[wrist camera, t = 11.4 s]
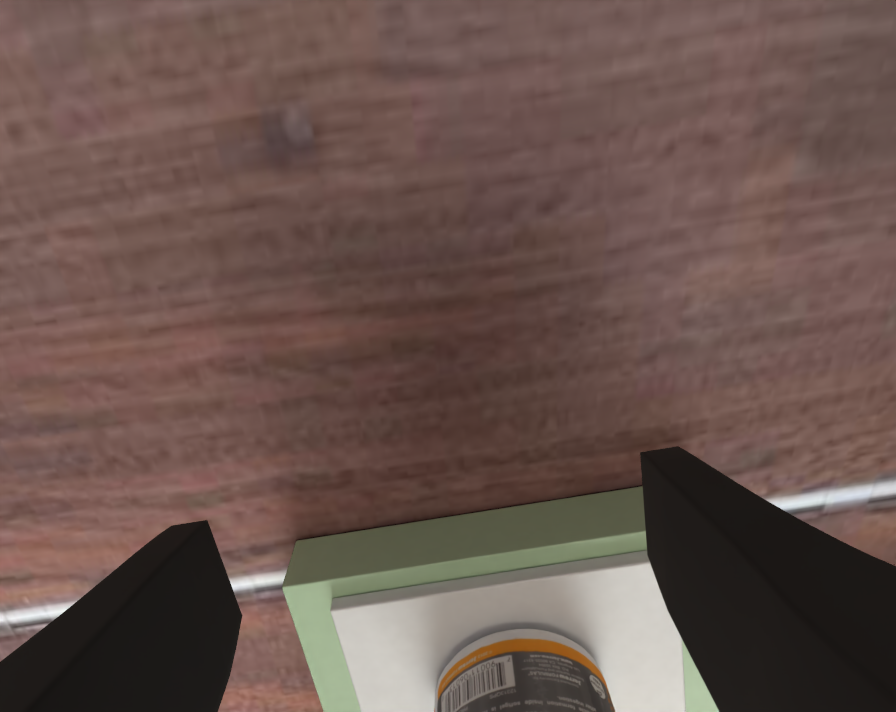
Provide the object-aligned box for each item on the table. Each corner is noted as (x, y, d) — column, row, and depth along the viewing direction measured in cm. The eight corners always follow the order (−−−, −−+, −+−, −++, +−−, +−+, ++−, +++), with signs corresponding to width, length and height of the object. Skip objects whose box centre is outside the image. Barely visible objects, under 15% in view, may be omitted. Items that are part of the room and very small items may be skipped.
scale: (368, 771, 28) (360, 852, 25) (295, 540, 23) (275, 605, 20) (701, 724, 27) (734, 801, 24) (691, 477, 23) (729, 535, 20)
